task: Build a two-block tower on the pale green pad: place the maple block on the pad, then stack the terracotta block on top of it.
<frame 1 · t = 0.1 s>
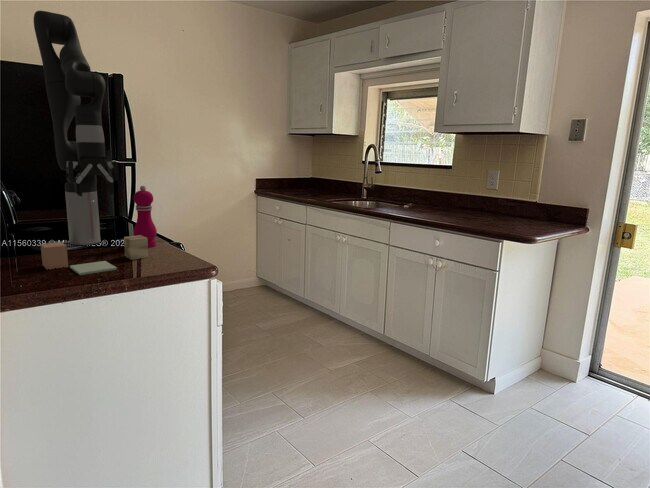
hand: (95, 195, 137), 17 cm above the table, tool pointing down, fingers open, 8 cm apart
pepper mill: (145, 246, 148), on the table
pad: (93, 268, 120), on the table
maple block: (136, 257, 134), on the table
terracotta block: (55, 266, 121), on the table
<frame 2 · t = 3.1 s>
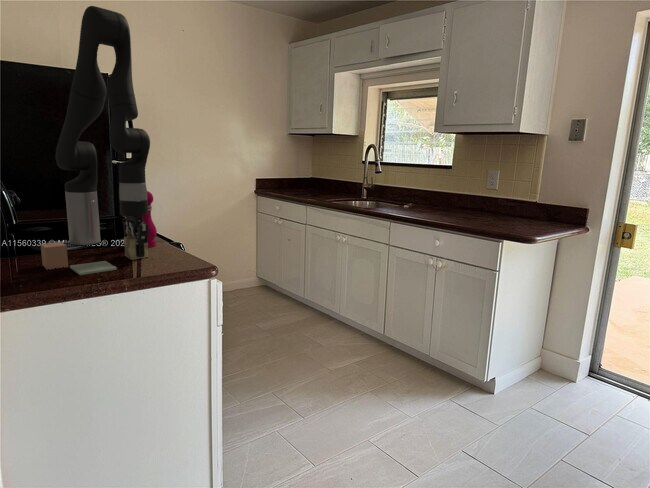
hand: (136, 254, 133), 1 cm above the table, tool pointing down, fingers closed on maple block, 5 cm apart
maple block: (136, 256, 134), on the table, touching gripper
everything else where it was.
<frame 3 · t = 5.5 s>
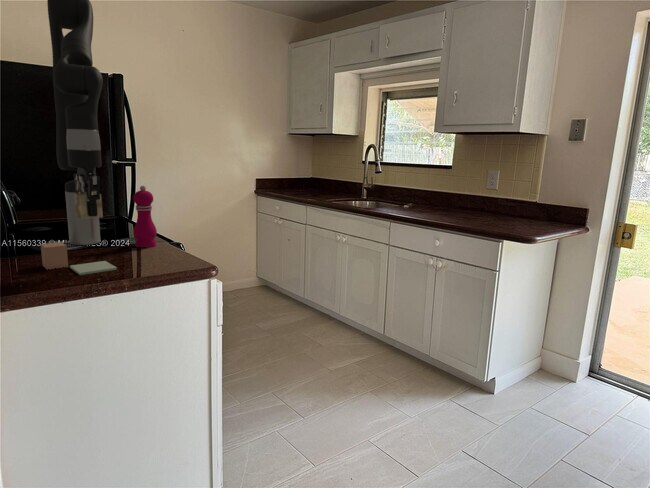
hand: (89, 214, 116), 15 cm above the table, tool pointing down, fingers closed on maple block, 5 cm apart
maple block: (89, 217, 117), point 14 cm above the table, touching gripper
everything else where it was.
when the fingers open (2 cm above the table, at t = 8.1 s): maple block drops 1 cm, resting on pad.
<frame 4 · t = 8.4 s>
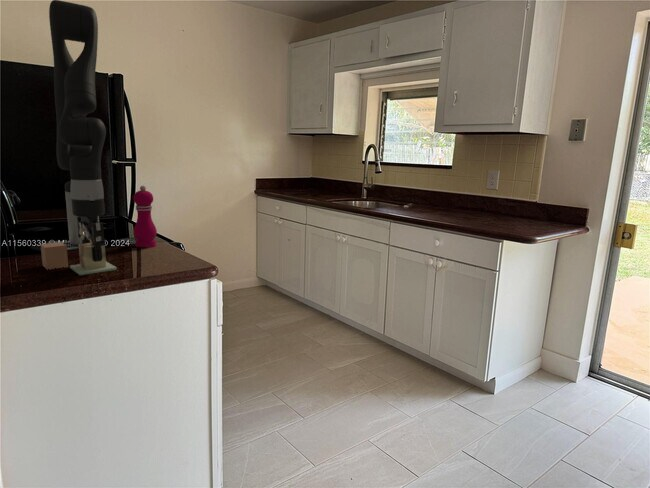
hand: (92, 257, 119), 3 cm above the table, tool pointing down, fingers open, 8 cm apart
maple block: (93, 266, 119), point 1 cm above the table, touching pad
everything else where it was.
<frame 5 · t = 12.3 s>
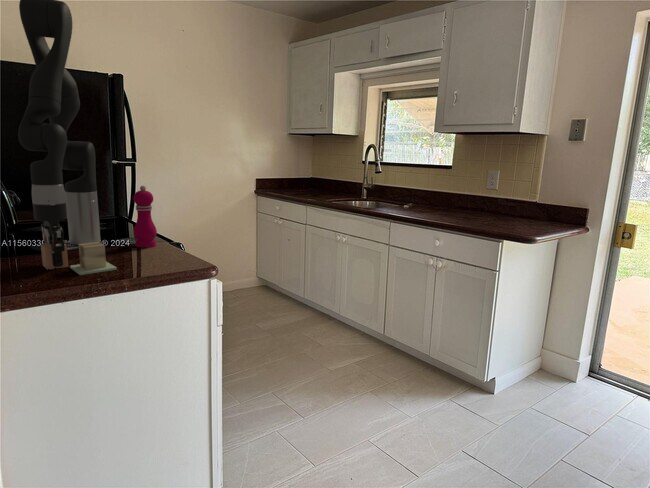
hand: (55, 263, 121), 1 cm above the table, tool pointing down, fingers closed on terracotta block, 5 cm apart
terracotta block: (55, 266, 121), on the table, touching gripper
everything else where it was.
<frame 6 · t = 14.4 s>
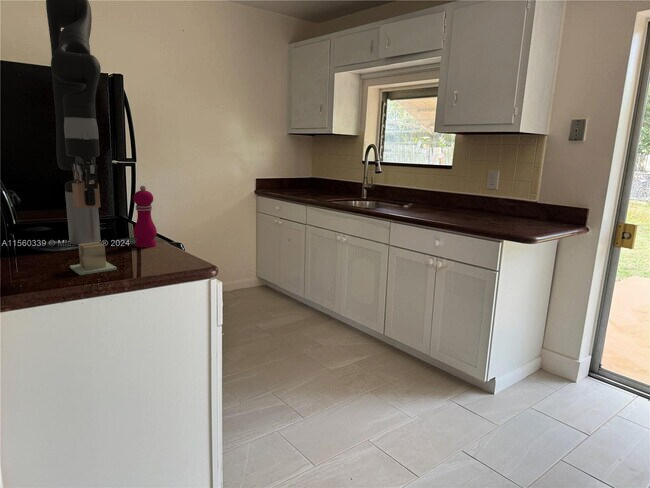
hand: (87, 204, 116), 17 cm above the table, tool pointing down, fingers closed on terracotta block, 5 cm apart
terracotta block: (87, 206, 116), point 17 cm above the table, touching gripper
everything else where it was.
when the fingers open (8 cm above the table, at t = 16.5 s): terracotta block drops 1 cm, resting on maple block.
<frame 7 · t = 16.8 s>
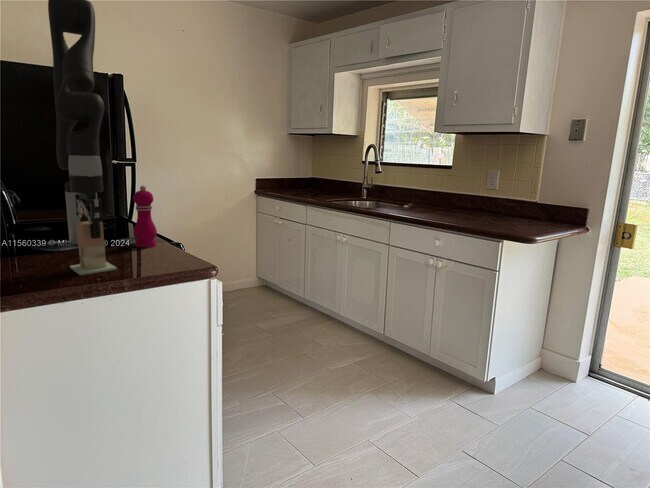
hand: (90, 235, 118), 9 cm above the table, tool pointing down, fingers open, 8 cm apart
maple block: (93, 266, 119), point 1 cm above the table, touching pad, terracotta block
terracotta block: (91, 244, 118), point 7 cm above the table, touching maple block
everything else where it was.
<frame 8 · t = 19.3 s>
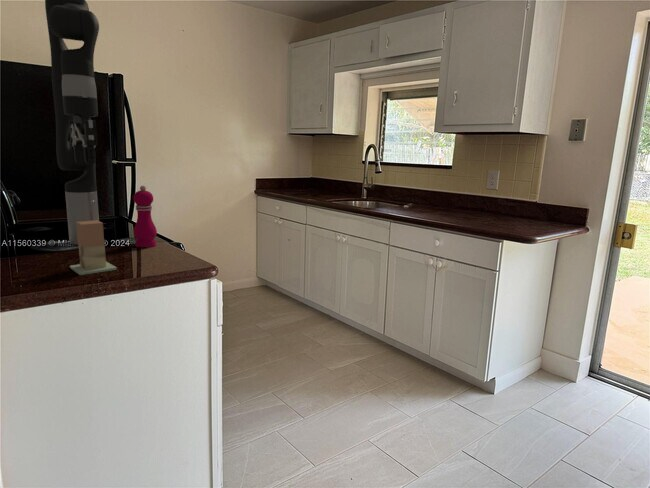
hand: (85, 162, 114), 28 cm above the table, tool pointing down, fingers open, 8 cm apart
nothing on the table moved.
at the end: maple block 0.0 cm off-centre on the pad, point 0.6 cm above the pad's base; terracotta block 0.1 cm off-centre on the maple block, point 6.0 cm above the maple block's base; terracotta block tilted 0° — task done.
